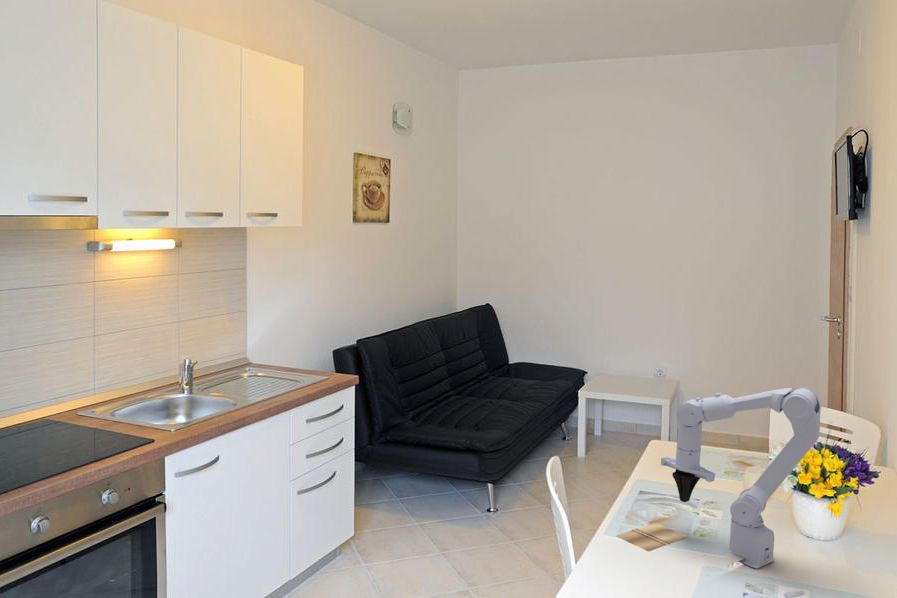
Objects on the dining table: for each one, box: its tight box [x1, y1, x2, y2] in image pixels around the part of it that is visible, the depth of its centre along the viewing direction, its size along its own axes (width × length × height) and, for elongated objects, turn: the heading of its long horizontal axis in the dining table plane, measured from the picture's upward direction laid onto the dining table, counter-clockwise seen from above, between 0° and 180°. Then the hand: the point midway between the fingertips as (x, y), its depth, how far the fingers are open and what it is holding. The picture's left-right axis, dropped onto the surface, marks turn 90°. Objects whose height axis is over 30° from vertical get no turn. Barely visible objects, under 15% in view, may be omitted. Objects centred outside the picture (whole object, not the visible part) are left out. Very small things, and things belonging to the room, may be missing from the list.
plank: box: [633, 522, 689, 545], centre depth 191 cm, size 10×8×2 cm
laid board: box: [615, 529, 668, 552], centre depth 186 cm, size 10×7×2 cm
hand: (684, 500), depth 189 cm, fingers closed
